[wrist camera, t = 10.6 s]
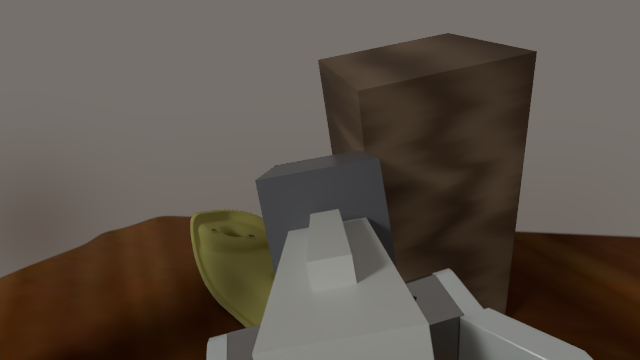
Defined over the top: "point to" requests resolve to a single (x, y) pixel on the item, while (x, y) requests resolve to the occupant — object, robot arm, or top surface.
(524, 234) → the top surface
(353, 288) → the plug
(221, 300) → the plastic component
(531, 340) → the robot arm
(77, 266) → the top surface
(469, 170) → the block
